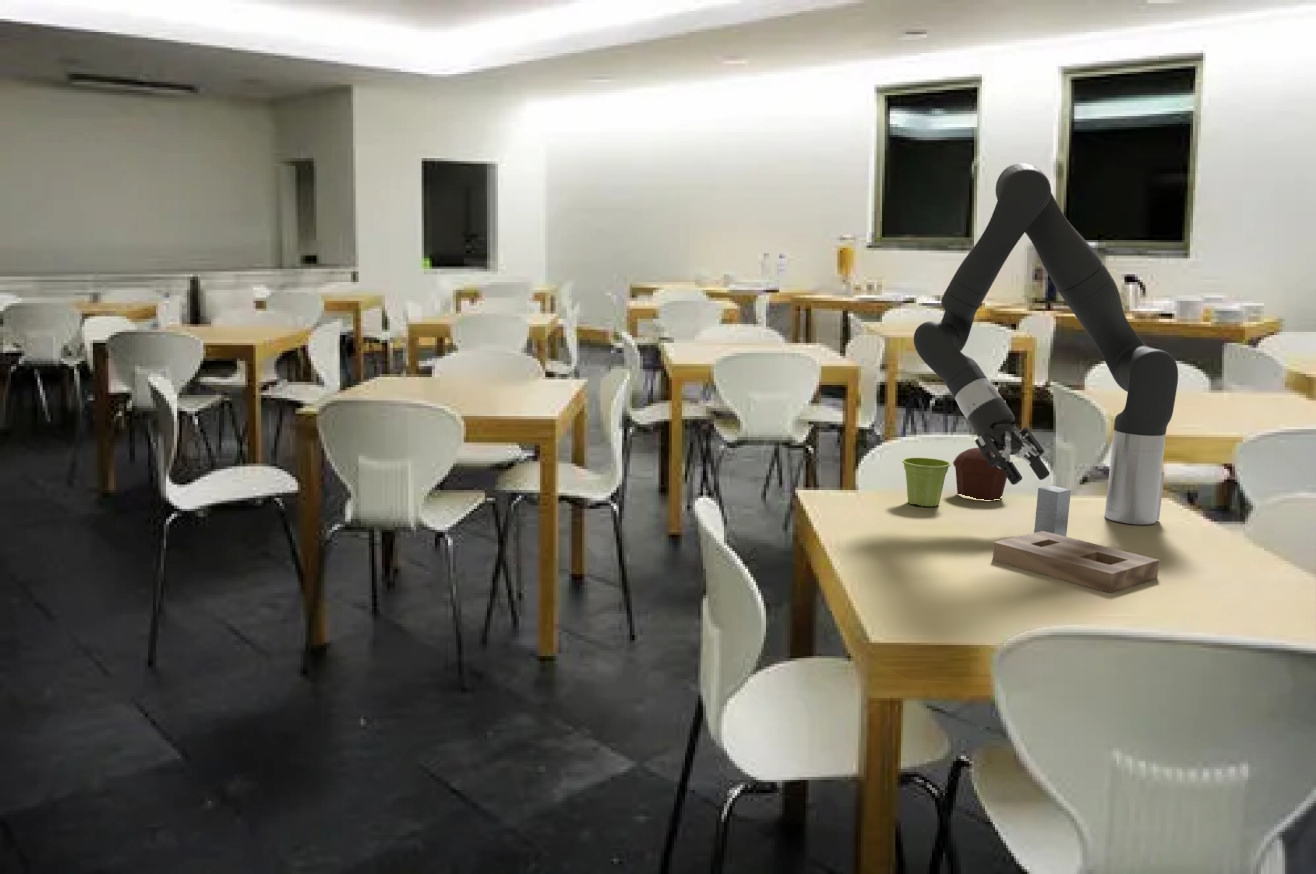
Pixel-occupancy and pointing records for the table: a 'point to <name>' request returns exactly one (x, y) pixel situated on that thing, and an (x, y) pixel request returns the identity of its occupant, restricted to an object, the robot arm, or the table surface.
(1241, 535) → the table surface
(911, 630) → the table surface
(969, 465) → the muffin
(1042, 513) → the square bit
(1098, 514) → the table surface
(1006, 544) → the plate
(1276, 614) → the table surface
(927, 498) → the plant pot
